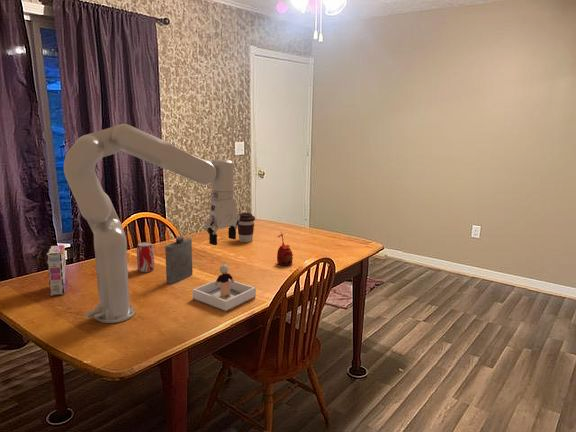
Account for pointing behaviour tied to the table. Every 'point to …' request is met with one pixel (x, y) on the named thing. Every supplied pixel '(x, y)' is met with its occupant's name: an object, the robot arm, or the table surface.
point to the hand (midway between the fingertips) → (222, 241)
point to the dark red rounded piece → (284, 254)
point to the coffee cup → (246, 227)
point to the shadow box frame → (238, 293)
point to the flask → (178, 260)
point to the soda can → (145, 257)
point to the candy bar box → (57, 270)
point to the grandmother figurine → (224, 281)
